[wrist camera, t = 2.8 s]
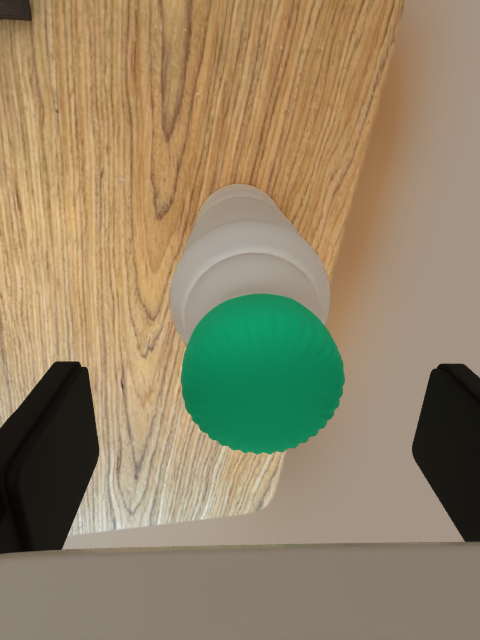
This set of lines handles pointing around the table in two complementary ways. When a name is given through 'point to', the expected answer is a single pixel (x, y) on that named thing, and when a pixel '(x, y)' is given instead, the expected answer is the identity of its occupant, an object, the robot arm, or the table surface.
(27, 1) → the divided storage box
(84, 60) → the table surface
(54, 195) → the table surface
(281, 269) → the water bottle
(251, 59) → the table surface
